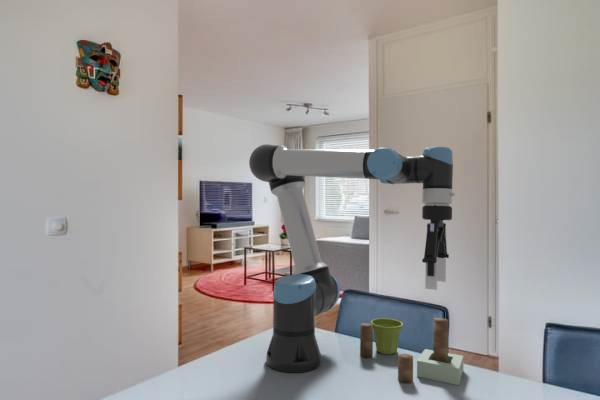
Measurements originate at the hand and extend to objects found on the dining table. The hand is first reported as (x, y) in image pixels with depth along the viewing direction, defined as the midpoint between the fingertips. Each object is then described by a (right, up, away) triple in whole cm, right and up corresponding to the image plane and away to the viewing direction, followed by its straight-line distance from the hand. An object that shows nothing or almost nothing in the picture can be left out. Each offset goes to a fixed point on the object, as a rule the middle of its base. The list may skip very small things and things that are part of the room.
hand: (435, 285), depth 103 cm
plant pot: (-10, -24, +14) cm, 29 cm away
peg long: (+1, -23, -2) cm, 23 cm away
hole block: (+1, -23, -2) cm, 23 cm away
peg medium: (-17, -23, +10) cm, 30 cm away
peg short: (-10, -23, -6) cm, 25 cm away
